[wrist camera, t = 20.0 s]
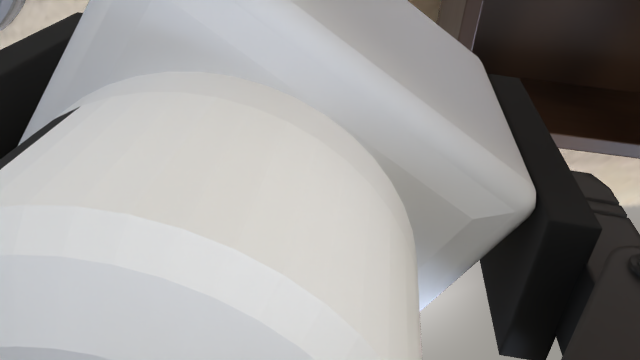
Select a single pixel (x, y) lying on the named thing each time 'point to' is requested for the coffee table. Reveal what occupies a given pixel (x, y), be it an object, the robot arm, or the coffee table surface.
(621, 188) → the coffee table surface
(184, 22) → the medicine bottle
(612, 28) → the chest
